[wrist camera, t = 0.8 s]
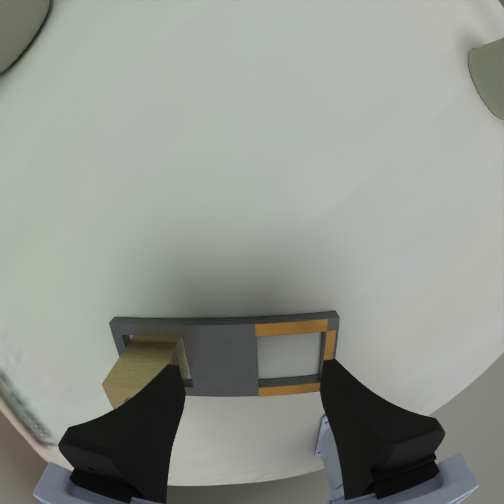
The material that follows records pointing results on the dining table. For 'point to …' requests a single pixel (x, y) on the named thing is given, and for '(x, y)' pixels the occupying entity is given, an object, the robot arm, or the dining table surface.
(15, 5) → the canister
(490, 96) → the can
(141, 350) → the block
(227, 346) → the grey frame plate
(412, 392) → the dining table surface
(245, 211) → the dining table surface
